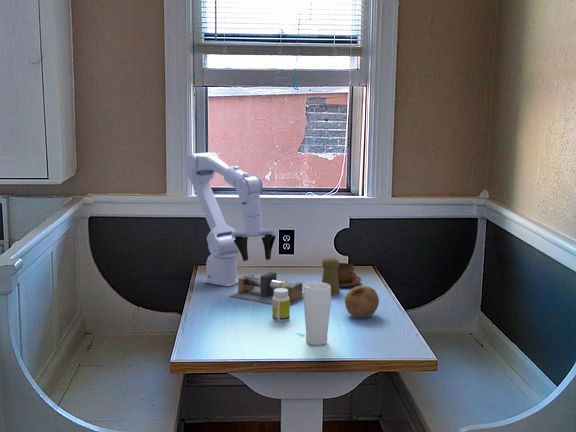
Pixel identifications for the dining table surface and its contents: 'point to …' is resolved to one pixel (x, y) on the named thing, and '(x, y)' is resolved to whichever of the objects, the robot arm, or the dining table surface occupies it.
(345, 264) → the cup and saucer
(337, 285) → the cork
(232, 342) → the dining table surface
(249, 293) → the mat
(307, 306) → the drinking glass
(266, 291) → the dark grey upright slab
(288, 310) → the supplement bottle
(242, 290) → the rod holder
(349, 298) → the onion
